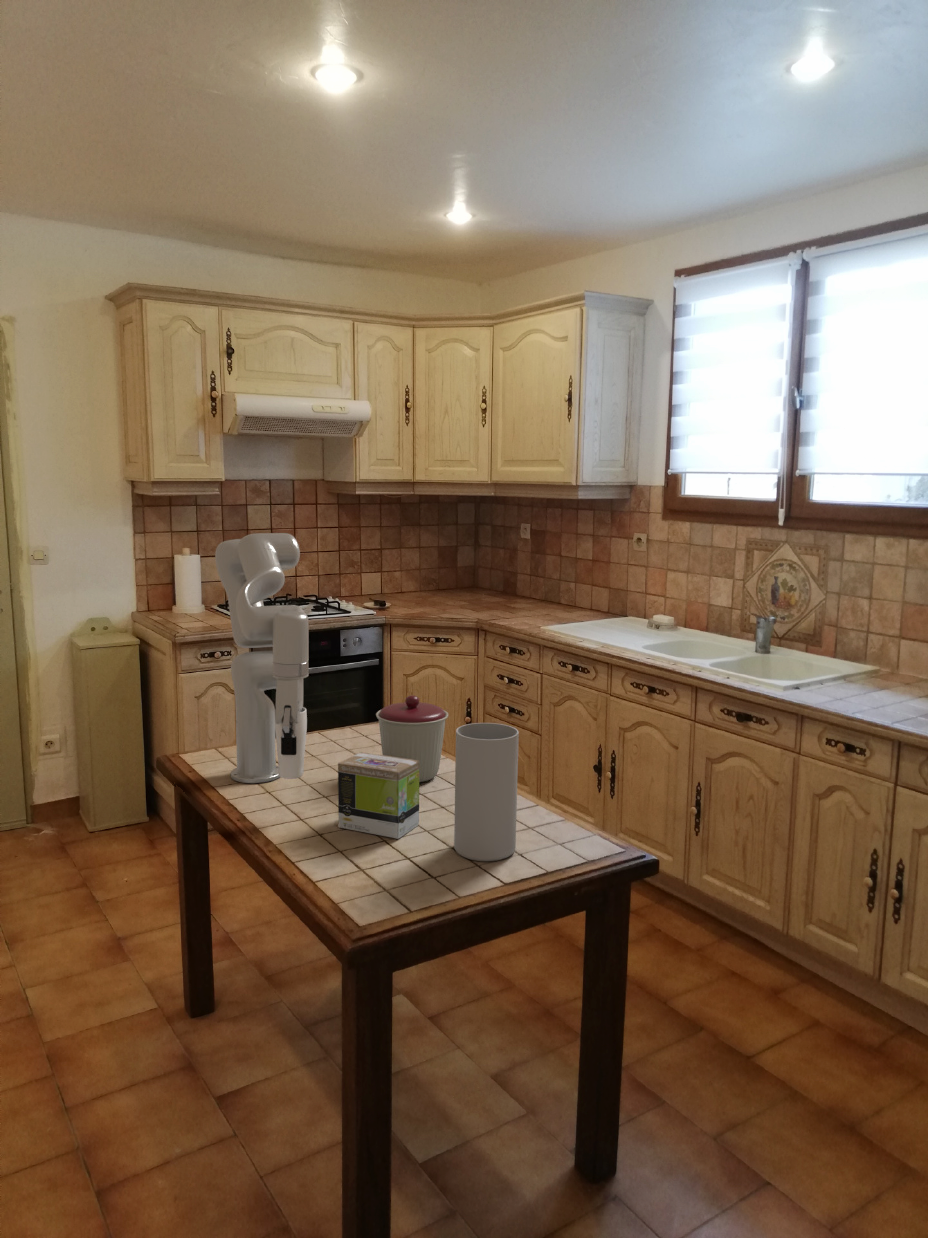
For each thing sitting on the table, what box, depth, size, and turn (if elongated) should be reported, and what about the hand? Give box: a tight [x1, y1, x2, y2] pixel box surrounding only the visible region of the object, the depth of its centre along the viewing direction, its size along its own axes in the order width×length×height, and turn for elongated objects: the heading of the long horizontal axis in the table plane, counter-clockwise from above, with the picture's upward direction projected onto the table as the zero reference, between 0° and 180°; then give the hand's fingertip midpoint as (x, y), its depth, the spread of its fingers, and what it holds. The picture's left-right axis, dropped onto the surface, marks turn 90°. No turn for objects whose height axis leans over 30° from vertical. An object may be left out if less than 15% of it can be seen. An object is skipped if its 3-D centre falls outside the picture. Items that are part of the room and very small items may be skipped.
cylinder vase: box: [453, 722, 520, 862], centre depth 182 cm, size 12×12×25 cm
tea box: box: [337, 751, 420, 840], centre depth 194 cm, size 15×10×15 cm, turn 65°
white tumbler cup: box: [275, 706, 308, 780], centre depth 196 cm, size 7×7×15 cm
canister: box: [375, 695, 449, 783], centre depth 226 cm, size 18×18×21 cm
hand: (291, 748), depth 196 cm, fingers closed on white tumbler cup, 6 cm apart
